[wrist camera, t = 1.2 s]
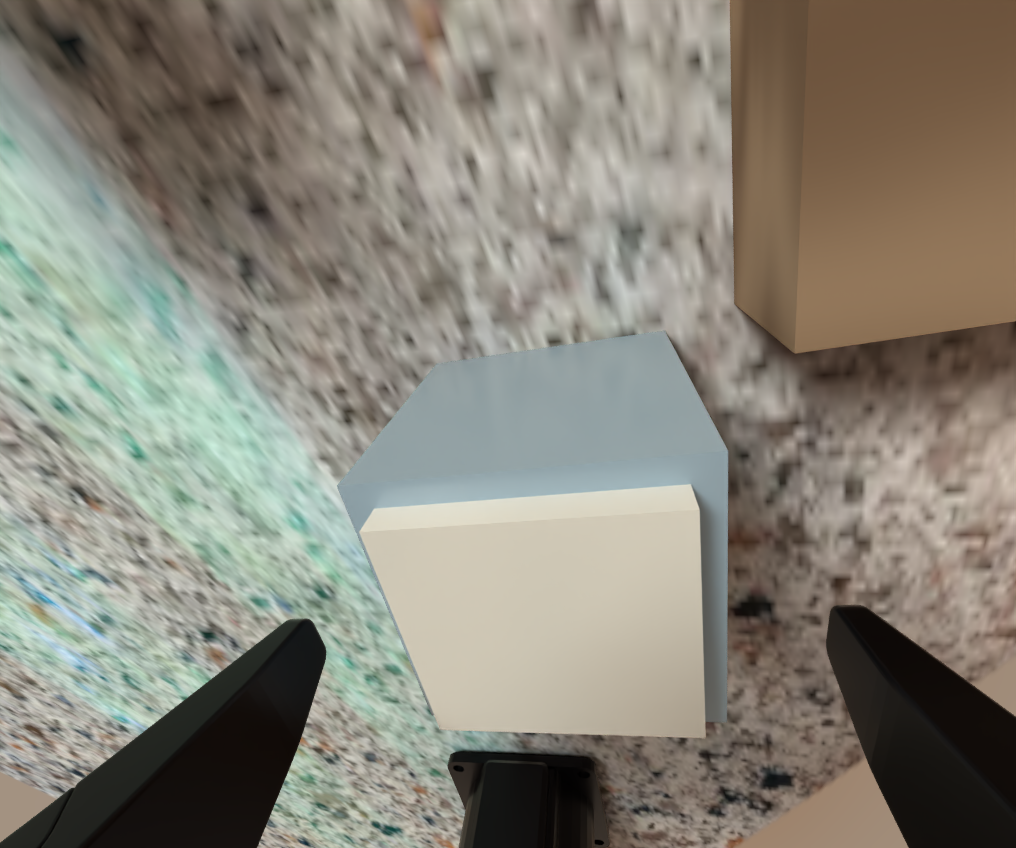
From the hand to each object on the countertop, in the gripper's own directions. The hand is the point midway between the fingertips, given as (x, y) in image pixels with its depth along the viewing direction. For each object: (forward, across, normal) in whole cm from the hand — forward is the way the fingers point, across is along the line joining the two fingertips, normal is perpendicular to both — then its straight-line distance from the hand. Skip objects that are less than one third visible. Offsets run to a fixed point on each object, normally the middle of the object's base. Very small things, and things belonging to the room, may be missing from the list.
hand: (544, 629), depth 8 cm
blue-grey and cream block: (+6, 0, 0) cm, 6 cm away
